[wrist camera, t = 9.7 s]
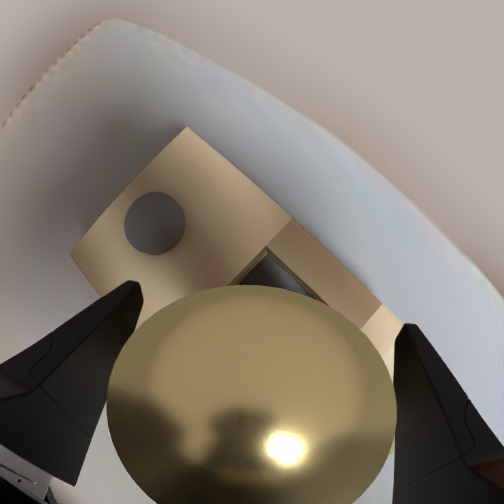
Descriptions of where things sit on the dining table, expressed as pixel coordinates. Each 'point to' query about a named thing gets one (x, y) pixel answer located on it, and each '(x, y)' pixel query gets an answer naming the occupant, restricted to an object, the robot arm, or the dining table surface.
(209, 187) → the wooden slotted base
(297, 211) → the dining table surface
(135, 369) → the brass pin
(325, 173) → the dining table surface
